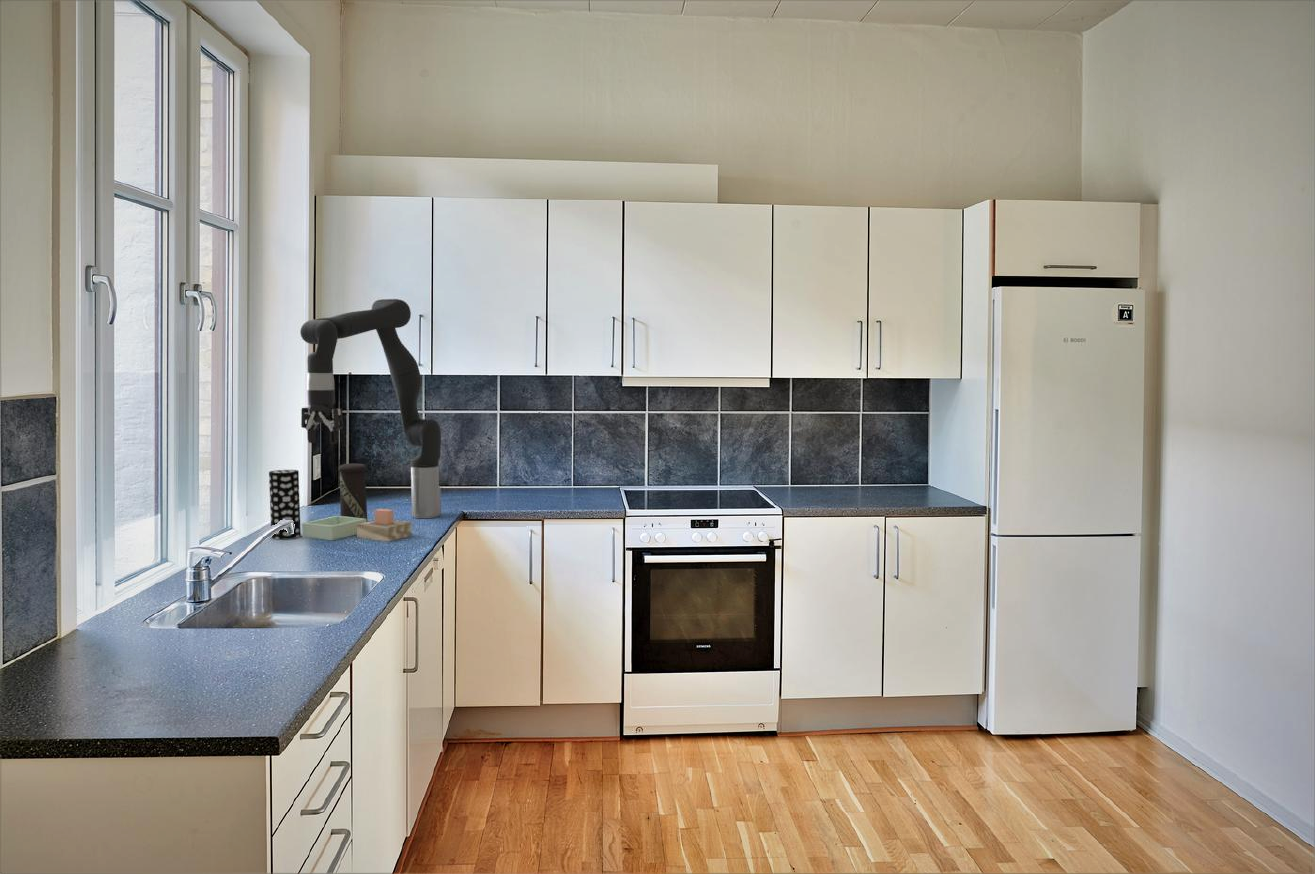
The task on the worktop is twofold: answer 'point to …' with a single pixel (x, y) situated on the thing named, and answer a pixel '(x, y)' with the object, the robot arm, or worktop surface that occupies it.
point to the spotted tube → (285, 500)
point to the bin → (331, 527)
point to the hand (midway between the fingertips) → (322, 443)
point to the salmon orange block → (384, 516)
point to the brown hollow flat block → (384, 530)
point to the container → (353, 490)
